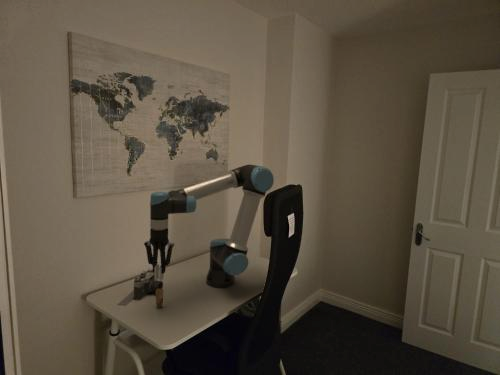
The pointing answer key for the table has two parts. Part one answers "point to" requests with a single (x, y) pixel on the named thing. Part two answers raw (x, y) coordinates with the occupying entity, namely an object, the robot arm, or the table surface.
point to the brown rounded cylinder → (159, 298)
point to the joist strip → (127, 299)
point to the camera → (146, 284)
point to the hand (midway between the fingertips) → (159, 279)
